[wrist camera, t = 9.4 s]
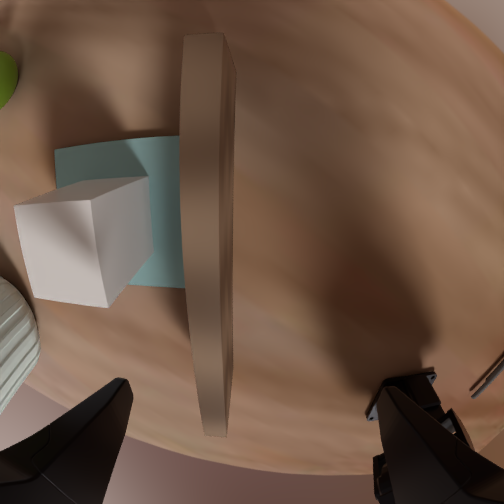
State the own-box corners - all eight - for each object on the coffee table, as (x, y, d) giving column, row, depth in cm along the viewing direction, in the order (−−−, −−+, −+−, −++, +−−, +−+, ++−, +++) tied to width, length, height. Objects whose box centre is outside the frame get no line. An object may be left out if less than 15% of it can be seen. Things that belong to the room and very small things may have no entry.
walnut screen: (233, 369, 23) (226, 437, 16) (215, 368, 23) (204, 435, 17) (236, 72, 15) (223, 32, 8) (211, 72, 15) (184, 35, 8)
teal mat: (193, 284, 20) (191, 288, 20) (75, 276, 20) (71, 279, 20) (189, 135, 16) (186, 135, 16) (59, 149, 16) (54, 149, 16)
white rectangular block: (153, 251, 19) (108, 308, 12) (91, 249, 19) (34, 297, 12) (148, 175, 17) (90, 200, 10) (83, 180, 17) (13, 205, 10)
